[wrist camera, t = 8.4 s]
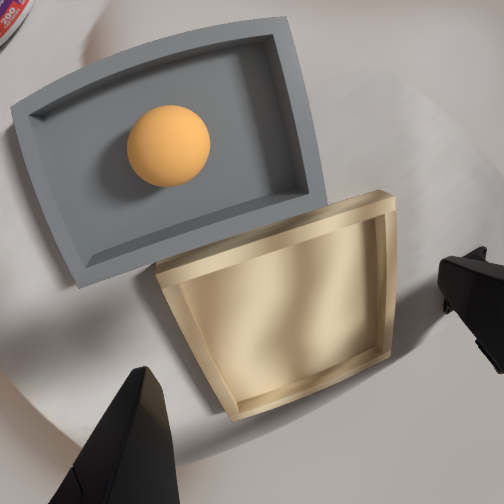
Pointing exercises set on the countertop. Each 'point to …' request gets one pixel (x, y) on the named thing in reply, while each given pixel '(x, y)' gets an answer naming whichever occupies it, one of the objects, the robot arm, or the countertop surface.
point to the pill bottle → (12, 16)
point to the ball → (168, 146)
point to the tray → (215, 169)
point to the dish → (289, 302)
